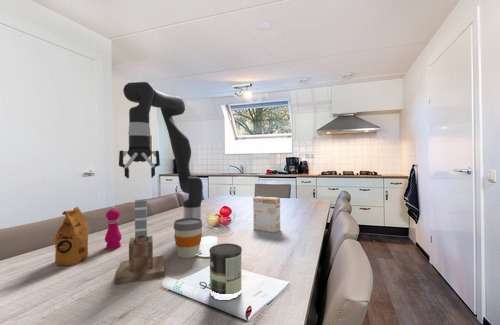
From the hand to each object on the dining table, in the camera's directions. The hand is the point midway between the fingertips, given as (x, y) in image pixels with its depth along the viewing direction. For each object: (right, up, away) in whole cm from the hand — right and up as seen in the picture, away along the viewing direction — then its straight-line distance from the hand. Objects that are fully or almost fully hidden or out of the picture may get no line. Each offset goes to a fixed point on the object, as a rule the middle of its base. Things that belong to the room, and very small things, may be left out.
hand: (140, 177), depth 98 cm
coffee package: (-34, -36, +11) cm, 51 cm away
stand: (0, -36, +1) cm, 36 cm away
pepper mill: (-25, -36, +27) cm, 51 cm away
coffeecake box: (+52, -35, +56) cm, 84 cm away
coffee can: (+34, -36, -16) cm, 52 cm away
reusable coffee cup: (+14, -36, +18) cm, 42 cm away
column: (0, -27, 0) cm, 27 cm away
